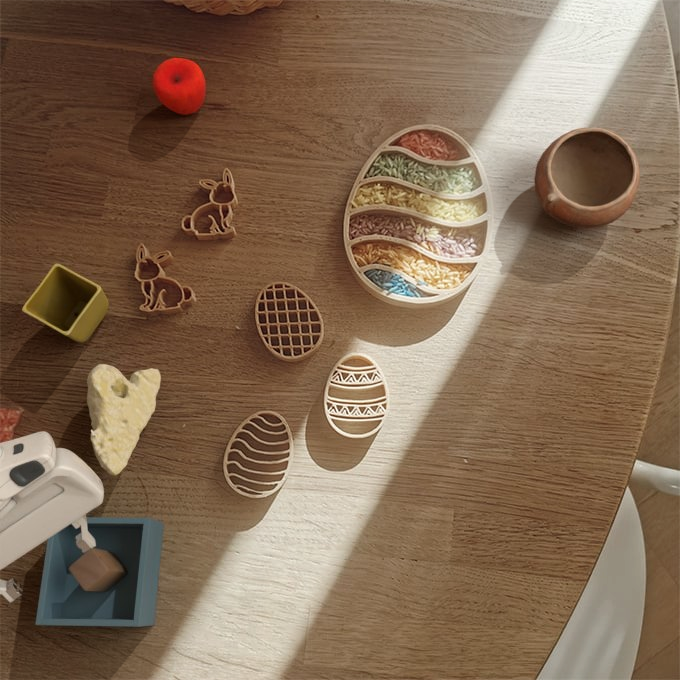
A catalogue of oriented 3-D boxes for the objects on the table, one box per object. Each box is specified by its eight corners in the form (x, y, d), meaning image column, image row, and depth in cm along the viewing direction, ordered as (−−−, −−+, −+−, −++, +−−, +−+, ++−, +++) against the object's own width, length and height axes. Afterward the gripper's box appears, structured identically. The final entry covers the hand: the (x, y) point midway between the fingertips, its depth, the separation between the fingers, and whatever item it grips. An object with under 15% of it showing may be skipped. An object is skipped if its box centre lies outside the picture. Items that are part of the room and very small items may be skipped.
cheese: (124, 360, 115) (39, 395, 104) (146, 342, 110) (59, 377, 99) (171, 445, 115) (91, 489, 104) (195, 431, 110) (114, 476, 99)
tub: (56, 623, 100) (34, 625, 94) (70, 522, 105) (50, 517, 99) (154, 625, 100) (138, 626, 93) (163, 523, 104) (149, 517, 98)
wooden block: (112, 550, 103) (91, 546, 95) (129, 572, 101) (109, 570, 94) (89, 570, 102) (66, 568, 94) (106, 593, 101) (84, 592, 93)
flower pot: (90, 356, 114) (66, 336, 105) (46, 331, 116) (19, 309, 107) (122, 310, 116) (102, 287, 108) (79, 286, 118) (55, 261, 110)
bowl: (520, 227, 117) (532, 194, 108) (538, 147, 122) (551, 108, 113) (620, 248, 115) (640, 217, 106) (633, 165, 120) (655, 128, 111)
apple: (152, 103, 130) (138, 72, 122) (192, 75, 131) (180, 43, 124) (182, 134, 127) (169, 105, 120) (222, 105, 129) (212, 75, 121)
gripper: (-121, 561, 73) (-31, 644, 80) (60, 446, 77) (133, 534, 83) (-110, 528, 79) (-26, 608, 85) (58, 422, 82) (127, 506, 88)
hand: (54, 571), depth 84 cm, fingers open, 8 cm apart
